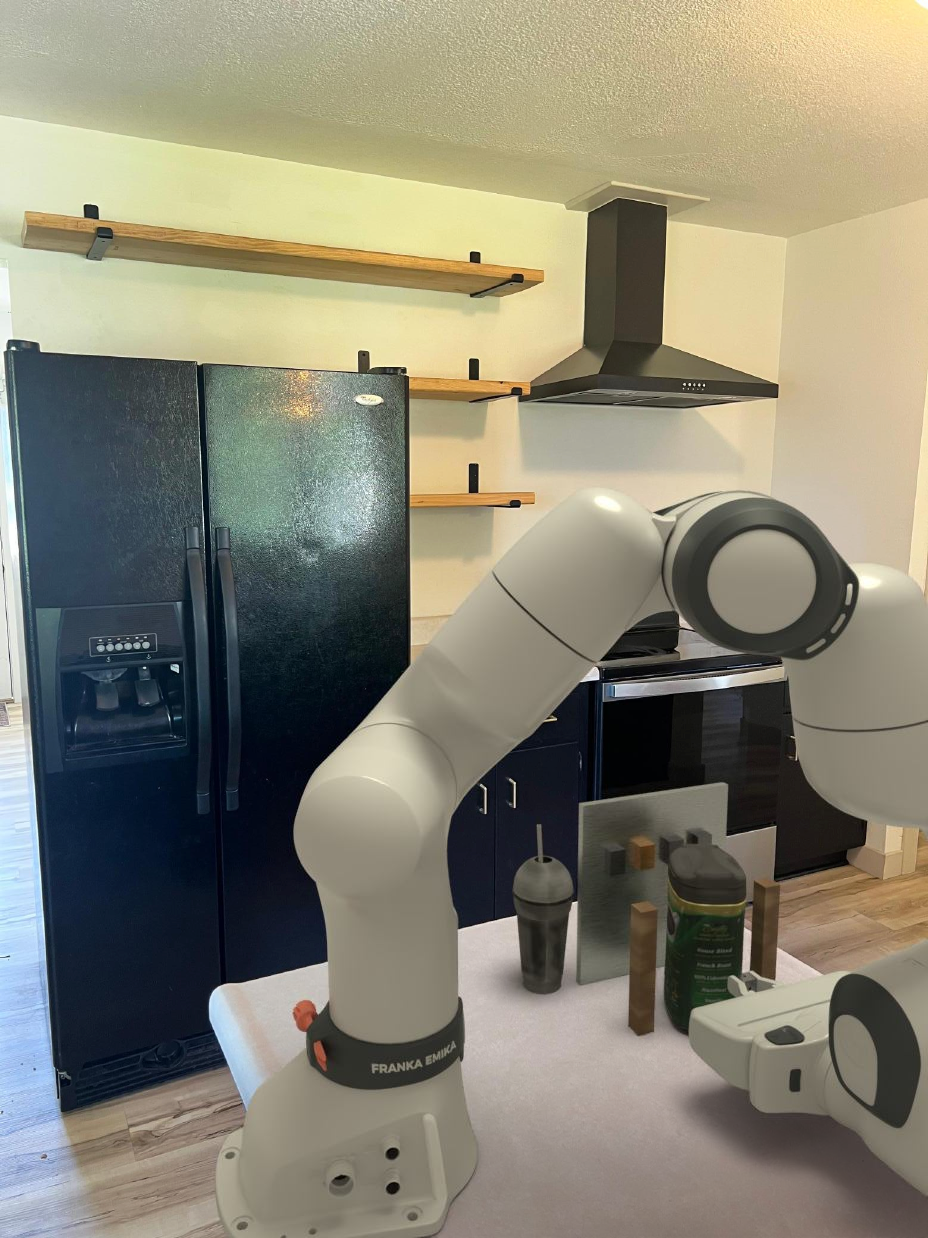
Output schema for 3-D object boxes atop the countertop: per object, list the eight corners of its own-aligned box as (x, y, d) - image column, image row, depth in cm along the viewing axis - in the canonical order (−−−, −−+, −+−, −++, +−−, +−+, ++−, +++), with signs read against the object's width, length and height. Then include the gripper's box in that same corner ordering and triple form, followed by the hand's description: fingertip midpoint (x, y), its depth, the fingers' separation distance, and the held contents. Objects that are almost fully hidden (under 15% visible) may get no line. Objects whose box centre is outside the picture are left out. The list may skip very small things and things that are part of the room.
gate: (638, 1036, 96) (641, 912, 94) (628, 1025, 97) (631, 904, 95) (774, 1001, 102) (780, 884, 100) (762, 992, 104) (768, 877, 102)
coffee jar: (749, 1039, 95) (756, 873, 92) (673, 1038, 95) (679, 873, 93) (726, 989, 104) (732, 837, 102) (657, 988, 105) (662, 836, 102)
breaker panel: (585, 990, 104) (588, 809, 101) (576, 981, 106) (579, 803, 103) (727, 957, 111) (734, 787, 108) (716, 949, 113) (723, 782, 110)
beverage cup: (583, 978, 107) (586, 818, 104) (556, 1008, 101) (558, 838, 98) (529, 961, 111) (530, 806, 108) (500, 988, 105) (500, 825, 102)
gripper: (926, 1000, 84) (818, 933, 97) (748, 1051, 77) (657, 971, 89) (921, 1062, 85) (815, 987, 98) (745, 1118, 78) (655, 1029, 90)
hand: (738, 979), depth 93 cm, fingers closed
